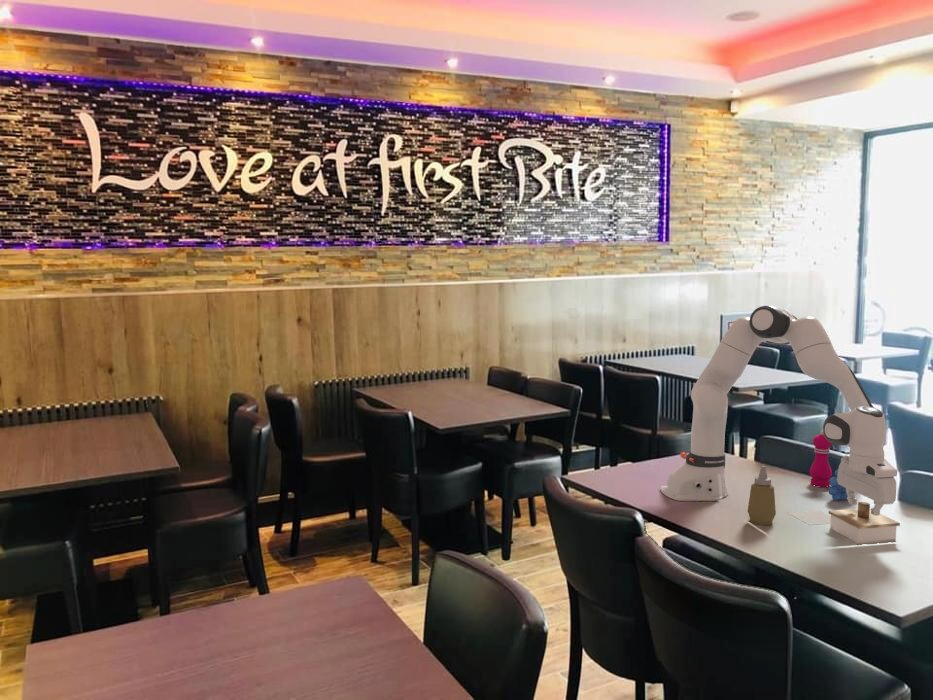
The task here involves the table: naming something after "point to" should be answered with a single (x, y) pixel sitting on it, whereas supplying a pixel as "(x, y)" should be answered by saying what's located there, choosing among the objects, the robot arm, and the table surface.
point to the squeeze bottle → (762, 500)
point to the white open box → (863, 532)
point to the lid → (863, 517)
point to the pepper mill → (821, 462)
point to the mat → (812, 517)
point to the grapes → (837, 489)
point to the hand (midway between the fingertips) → (863, 509)
